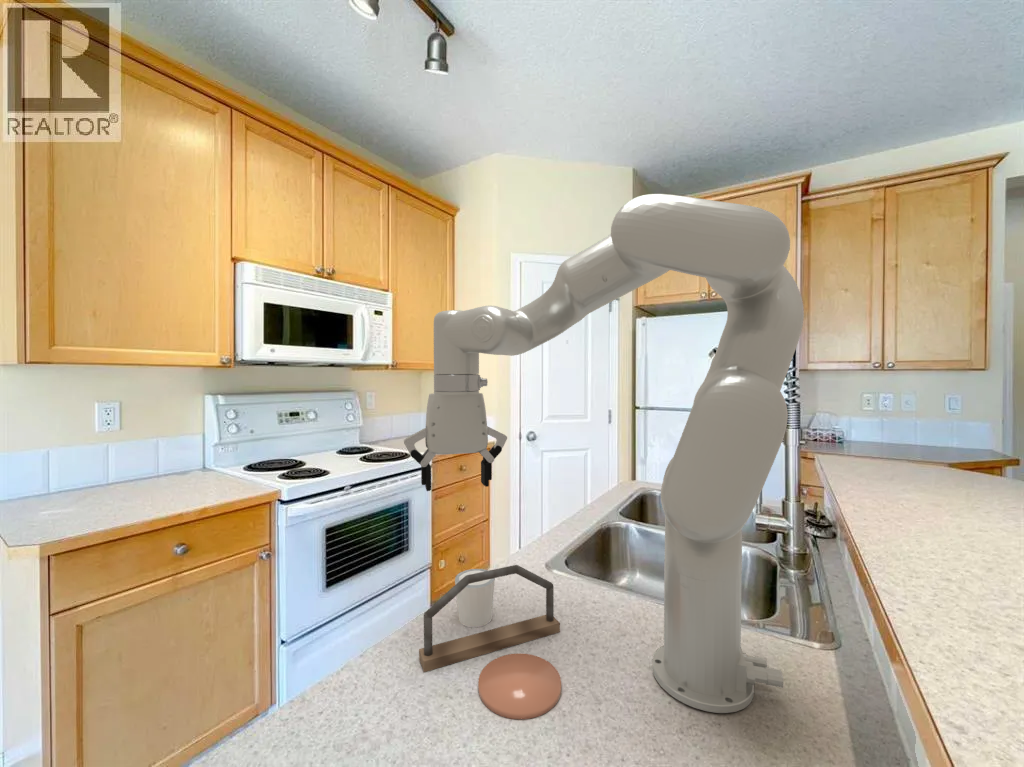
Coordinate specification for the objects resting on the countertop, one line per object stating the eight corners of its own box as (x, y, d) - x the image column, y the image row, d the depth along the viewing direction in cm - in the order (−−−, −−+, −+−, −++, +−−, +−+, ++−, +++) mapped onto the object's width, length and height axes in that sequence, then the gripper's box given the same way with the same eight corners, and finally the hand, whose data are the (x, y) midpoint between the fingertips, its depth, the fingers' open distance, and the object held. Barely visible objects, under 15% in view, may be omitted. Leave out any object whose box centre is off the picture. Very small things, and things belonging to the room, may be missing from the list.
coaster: (568, 668, 61) (568, 662, 61) (550, 729, 51) (550, 722, 51) (495, 652, 64) (495, 647, 64) (464, 706, 54) (464, 700, 54)
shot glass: (489, 631, 70) (489, 589, 69) (449, 627, 71) (449, 585, 71) (499, 608, 76) (499, 569, 76) (462, 604, 78) (462, 566, 78)
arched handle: (550, 622, 72) (550, 553, 72) (559, 632, 69) (559, 560, 69) (419, 659, 63) (418, 580, 63) (423, 672, 60) (423, 590, 60)
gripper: (500, 384, 78) (500, 478, 79) (402, 385, 74) (403, 484, 74) (512, 385, 71) (512, 488, 72) (404, 386, 66) (405, 497, 67)
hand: (457, 486), depth 73 cm, fingers open, 9 cm apart
